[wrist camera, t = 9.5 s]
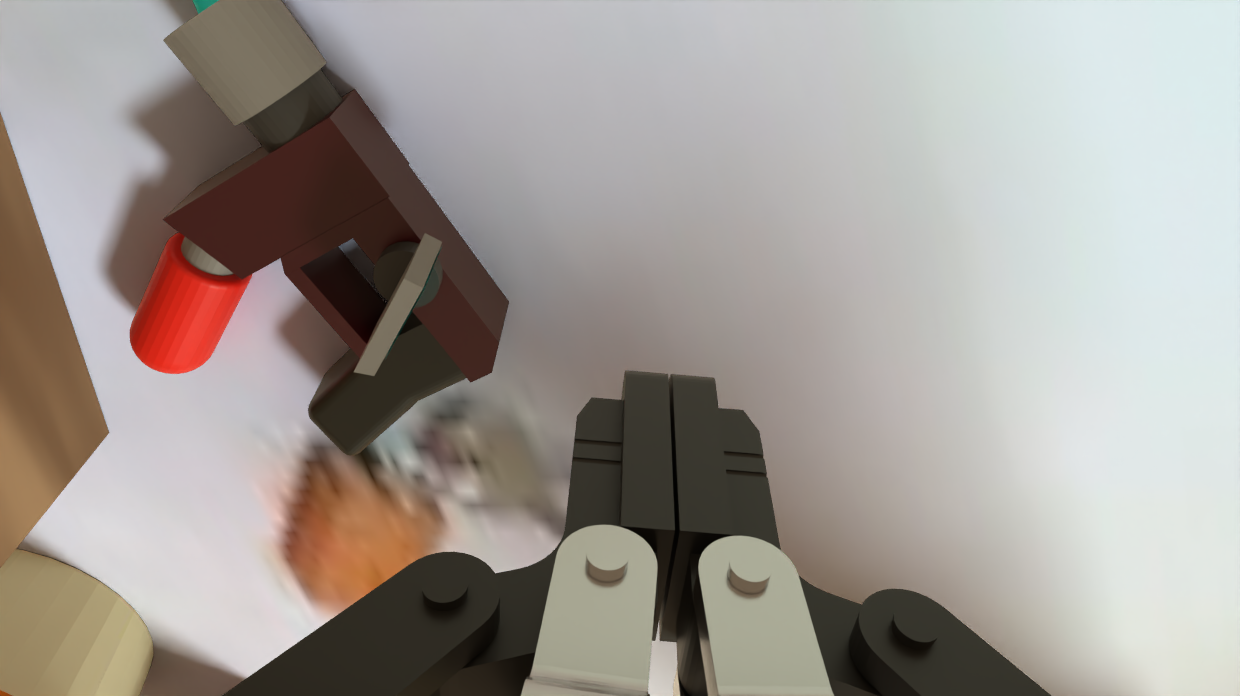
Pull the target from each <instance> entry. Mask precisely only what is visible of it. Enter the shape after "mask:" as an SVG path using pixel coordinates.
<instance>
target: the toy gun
mask: <svg viewBox="0 0 1240 696" xmlns="http://www.w3.org/2000/svg"><path fill="white" fill-rule="evenodd" d="M193 2H194V5H195V7H196V10H197V12H198V15H196V16H195V17H193V18H192V19H190V20H189V21H187V22H186V23H185V24H183V25H182V26H180V27H179V28H178V29H176V30H175V31H174V32H172V33H171V34H170V35H168V36H167V37H166V38H165V39H164V40H163V41H164V42H165V43H166V44H167V45H168V47H169V48H170V49H171V50H172V51H173V53H174V54H175V55H176V56H177V57H178V59H179V60H180V61H181V62H182V63H183V65H184V66H185V67H186V68H187V69H188V71H189V72H190V73H191V74H192V75H193V77H194V78H195V79H196V80H197V81H198V83H199V84H200V85H201V86H202V87H203V89H204V90H205V91H206V92H207V93H208V95H209V96H210V97H211V98H212V99H213V101H214V102H215V103H216V104H217V105H218V107H219V108H220V109H221V110H222V111H223V113H224V114H225V115H226V116H227V117H228V119H229V120H230V121H231V122H232V123H233V125H234V126H235V125H238V124H240V123H242V122H243V123H244V124H245V125H246V126H247V128H248V129H249V130H250V131H251V132H252V134H253V135H254V136H255V137H256V139H257V140H258V141H259V142H260V143H261V145H262V147H260V148H259V149H257V150H256V151H254V152H252V153H251V154H249V155H248V156H246V157H244V158H243V159H241V160H239V161H238V162H236V163H235V164H233V165H231V166H230V167H228V168H226V169H225V170H223V171H222V172H220V173H218V174H217V175H215V176H214V177H212V178H210V179H209V180H207V181H205V182H204V183H202V184H201V185H199V186H198V187H197V188H196V189H195V190H194V191H193V192H192V193H190V194H189V195H188V196H187V197H186V198H185V199H184V200H183V201H182V202H181V203H180V204H179V205H178V206H177V207H175V208H174V209H173V210H172V211H171V212H170V213H169V214H168V215H167V216H166V217H165V218H164V219H163V220H164V221H165V222H166V223H168V224H169V225H170V226H172V227H173V228H174V229H176V230H177V231H178V232H179V233H177V234H175V235H173V236H172V237H171V238H170V239H169V240H168V241H167V243H166V245H165V247H164V250H163V252H162V254H161V257H160V259H159V261H158V264H157V266H156V268H155V270H154V273H153V275H152V277H151V280H150V282H149V284H148V287H147V289H146V291H145V294H144V296H143V298H142V300H141V303H140V305H139V307H138V310H137V312H136V314H135V317H134V319H133V321H132V324H131V328H130V343H131V346H132V349H133V351H134V352H135V354H136V356H137V357H138V358H139V359H140V360H141V361H142V362H143V363H144V364H145V365H147V366H148V367H150V368H152V369H154V370H157V371H159V372H163V373H169V374H180V373H186V372H189V371H192V370H194V369H196V368H198V367H200V366H201V365H203V364H204V363H205V362H206V361H207V360H208V359H209V358H210V357H211V355H212V353H213V351H214V349H215V348H216V346H217V344H218V342H219V340H220V338H221V336H222V334H223V332H224V330H225V328H226V326H227V324H228V322H229V320H230V318H231V316H232V314H233V312H234V310H235V309H236V307H237V305H238V303H239V301H240V299H241V297H242V295H243V293H244V291H245V289H246V287H247V285H248V283H249V281H250V279H251V277H252V274H253V273H254V272H256V271H258V270H260V269H262V268H263V267H265V266H267V265H269V264H270V263H272V262H274V261H276V260H278V259H279V258H281V261H282V265H283V269H284V273H285V275H286V276H287V277H288V278H289V279H290V280H291V282H292V283H293V284H294V285H295V286H296V287H297V288H298V289H299V291H300V292H301V293H302V294H303V295H304V296H305V297H306V298H307V300H308V301H309V302H310V303H311V304H312V305H313V306H314V307H315V309H316V310H317V311H318V312H319V313H320V314H321V315H322V316H323V318H324V319H325V320H326V321H327V322H328V323H329V324H330V325H331V327H332V328H333V329H334V330H335V331H336V332H337V333H338V334H339V336H340V337H341V338H342V339H343V340H344V341H345V342H346V343H347V345H348V346H349V347H350V348H351V349H350V350H349V351H348V352H347V353H346V354H345V355H344V356H343V357H342V358H341V359H340V360H338V361H337V362H336V363H335V364H334V365H333V366H332V367H331V368H330V369H329V370H328V371H327V373H326V374H325V375H324V377H323V379H322V381H321V383H320V385H319V387H318V389H317V391H316V393H315V395H314V397H313V398H312V400H311V402H310V404H309V408H308V413H309V417H310V419H311V420H312V421H313V422H314V423H315V424H316V425H317V426H318V427H319V428H320V429H321V430H322V431H323V432H324V434H325V435H326V436H327V437H328V438H329V439H330V440H331V441H332V442H333V443H334V444H335V445H336V446H337V447H338V448H339V449H340V450H341V451H342V452H343V453H345V454H346V455H350V456H353V455H357V454H359V453H360V452H361V451H362V450H363V449H365V448H366V447H367V446H368V445H369V444H370V443H371V442H373V441H374V440H375V439H376V438H377V437H378V436H379V435H380V434H382V433H383V432H384V431H385V430H386V429H387V428H388V427H390V426H391V425H392V424H393V423H394V422H395V421H396V420H398V419H399V418H400V417H401V416H402V415H403V414H404V413H405V412H407V411H408V410H409V409H410V408H411V407H412V406H413V405H414V404H415V403H416V402H417V401H418V400H421V399H423V398H425V397H427V396H429V395H431V394H433V393H435V392H438V391H440V390H442V389H444V388H446V387H448V386H450V385H453V384H455V383H457V382H459V381H461V380H463V379H465V378H467V379H468V380H469V381H470V382H473V381H475V380H477V379H479V378H481V377H483V376H485V375H488V374H490V373H492V370H493V366H494V361H495V357H496V353H497V349H498V345H499V341H500V337H501V333H502V328H503V324H504V320H505V316H506V312H507V308H508V304H509V301H508V300H507V299H506V297H505V296H504V294H503V293H502V292H501V290H500V289H499V288H498V286H497V285H496V284H495V282H494V281H493V279H492V278H491V277H490V275H489V274H488V273H487V271H486V270H485V269H484V267H483V266H482V264H481V263H480V262H479V260H478V259H477V258H476V256H475V255H474V254H473V252H472V251H471V249H470V248H469V247H468V245H467V244H466V243H465V241H464V240H463V239H462V237H461V236H460V235H459V233H458V232H457V230H456V229H455V228H454V226H453V225H452V224H451V222H450V221H449V220H448V218H447V217H446V215H445V214H444V213H443V211H442V210H441V209H440V207H439V206H438V205H437V203H436V202H435V200H434V199H433V198H432V196H431V195H430V194H429V192H428V191H427V190H426V188H425V187H424V185H423V184H422V183H421V181H420V180H419V179H418V177H417V176H416V175H415V173H414V172H413V171H412V169H411V168H410V166H409V162H408V161H407V159H406V158H405V157H404V155H403V154H402V153H401V151H400V150H399V149H398V147H397V146H396V144H395V143H394V142H393V140H392V139H391V138H390V136H389V135H388V134H387V132H386V131H385V129H384V128H383V127H382V125H381V124H380V123H379V121H378V120H377V119H376V117H375V116H374V114H373V113H372V112H371V110H370V109H369V108H368V106H367V105H366V104H365V102H364V101H363V99H362V98H361V97H360V95H359V94H358V93H357V91H356V90H355V89H354V90H353V91H351V92H349V93H348V94H346V95H345V96H343V97H341V96H340V95H339V93H338V92H337V91H336V89H335V88H334V87H333V85H332V84H331V83H330V81H329V80H328V79H327V77H326V76H325V75H324V73H323V72H322V71H321V68H322V67H323V66H324V65H325V64H326V63H327V62H326V61H325V59H324V58H323V56H322V55H321V54H320V52H319V51H318V50H317V48H316V47H315V46H314V44H313V43H312V42H311V40H310V39H309V37H308V36H307V35H306V33H305V32H304V31H303V29H302V28H301V27H300V25H299V24H298V23H297V21H296V20H295V19H294V17H293V16H292V14H291V13H290V12H289V10H288V9H287V8H286V6H285V5H284V4H283V2H282V1H281V0H193ZM352 238H353V239H354V240H355V241H356V243H357V244H358V245H359V246H360V248H361V249H362V250H363V251H364V252H365V254H366V255H367V256H368V257H369V259H370V260H371V261H372V262H373V263H374V265H375V267H374V270H373V280H374V284H375V286H376V288H377V290H378V291H379V293H380V294H381V295H382V296H383V297H384V298H385V299H386V300H388V303H387V305H386V304H385V302H384V301H383V300H382V299H381V298H380V296H379V295H378V294H377V293H376V292H375V290H374V289H373V288H372V287H371V286H370V284H369V283H368V282H367V281H366V280H365V278H364V277H363V276H362V275H361V274H360V272H359V271H358V270H357V269H356V268H355V266H354V265H353V264H352V263H351V262H350V260H349V259H348V258H347V257H346V256H345V254H344V253H343V252H342V251H341V250H340V248H339V247H338V246H340V245H341V244H343V243H345V242H347V241H349V240H350V239H352Z"/></svg>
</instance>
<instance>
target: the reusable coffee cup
mask: <svg viewBox="0 0 1240 696" xmlns="http://www.w3.org/2000/svg"><path fill="white" fill-rule="evenodd" d="M153 655H154V653H153V642H152V639H151V636H150V634H149V631H148V629H147V627H146V625H145V624H144V622H143V621H142V619H141V618H140V617H139V615H138V614H137V612H136V611H135V610H134V609H133V608H132V607H131V606H130V605H129V604H128V603H127V602H126V601H125V600H124V599H123V598H122V597H120V596H119V595H118V594H117V593H115V592H114V591H112V590H111V589H110V588H108V587H107V586H105V585H104V584H103V583H101V582H100V581H98V580H96V579H94V578H93V577H91V576H89V575H87V574H85V573H84V572H82V571H80V570H78V569H76V568H74V567H71V566H69V565H66V564H64V563H61V562H59V561H57V560H54V559H52V558H49V557H45V556H42V555H38V554H35V553H31V552H28V551H24V550H19V549H15V551H14V552H13V553H12V554H11V556H10V557H9V558H8V559H7V561H6V562H5V563H4V564H3V566H2V567H1V568H0V696H139V695H140V693H141V690H142V688H143V685H144V682H145V680H146V677H147V675H148V672H149V669H150V667H151V663H152V659H153Z"/></svg>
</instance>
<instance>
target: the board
mask: <svg viewBox="0 0 1240 696" xmlns="http://www.w3.org/2000/svg"><path fill="white" fill-rule="evenodd" d="M108 433H109V431H108V428H107V425H106V422H105V419H104V416H103V413H102V410H101V408H100V405H99V402H98V399H97V396H96V393H95V390H94V387H93V384H92V381H91V378H90V375H89V372H88V369H87V366H86V363H85V360H84V358H83V355H82V352H81V349H80V346H79V343H78V340H77V337H76V334H75V331H74V328H73V325H72V322H71V319H70V316H69V313H68V310H67V307H66V305H65V302H64V299H63V296H62V293H61V290H60V287H59V284H58V281H57V278H56V275H55V272H54V269H53V266H52V263H51V260H50V257H49V255H48V252H47V249H46V246H45V243H44V240H43V237H42V234H41V231H40V228H39V225H38V222H37V219H36V216H35V213H34V210H33V207H32V204H31V202H30V199H29V196H28V193H27V190H26V187H25V184H24V181H23V178H22V175H21V172H20V169H19V166H18V163H17V160H16V157H15V154H14V152H13V149H12V146H11V143H10V140H9V137H8V134H7V131H6V128H5V125H4V122H3V119H2V116H1V113H0V568H1V567H2V566H3V564H4V563H5V562H6V561H7V559H8V558H9V557H10V556H11V554H12V553H13V552H14V551H15V549H16V548H17V547H18V546H19V544H20V543H21V542H22V541H23V539H24V538H25V537H26V536H27V534H28V533H29V532H30V531H31V529H32V528H33V527H34V526H35V524H36V523H37V522H38V521H39V519H40V518H41V517H42V516H43V515H44V513H45V512H46V511H47V510H48V508H49V507H50V506H51V505H52V503H53V502H54V501H55V500H56V498H57V497H58V496H59V495H60V493H61V492H62V491H63V490H64V488H65V487H66V486H67V485H68V483H69V482H70V481H71V480H72V478H73V477H74V476H75V475H76V473H77V472H78V471H79V470H80V468H81V467H82V466H83V465H84V463H85V462H86V461H87V460H88V458H89V457H90V456H91V455H92V453H93V452H94V451H95V450H96V448H97V447H98V446H99V445H100V443H101V442H102V441H103V440H104V438H105V437H106V436H107V435H108Z"/></svg>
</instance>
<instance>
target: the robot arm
mask: <svg viewBox="0 0 1240 696" xmlns="http://www.w3.org/2000/svg"><path fill="white" fill-rule="evenodd" d="M766 474H767V472H766V466H765V461H764V459H763V450H762V444H761V438H760V433H759V430H758V429H757V428H756V427H755V425H754V424H753V423H752V421H751V420H750V419H749V417H748V416H747V415H746V413H745V412H744V411H743V410H734V409H722V408H718V400H717V392H716V384H715V379H714V378H709V377H698V376H686V375H675V374H671V375H670V379H669V378H668V374H661V373H650V372H638V371H626V370H625V374H624V382H623V391H622V399H621V400H614V399H603V398H591V399H590V400H589V402H588V403H587V404H586V406H585V407H584V408H583V409H582V411H581V412H580V413H579V414H578V416H577V422H576V431H575V441H574V450H573V460H572V469H571V478H570V488H569V497H568V506H567V516H566V525H565V531H564V535H563V537H562V540H561V542H560V543H559V545H558V546H557V548H556V549H555V550H554V551H553V552H552V553H551V554H550V555H548V556H547V557H546V558H544V559H543V560H541V561H539V562H537V563H535V564H533V565H530V566H528V567H524V568H520V569H516V570H511V571H506V572H501V573H496V574H495V573H494V571H493V570H492V569H491V568H490V567H489V566H488V565H487V564H486V563H485V562H483V561H482V560H480V559H479V558H476V557H474V556H472V555H468V554H465V553H459V552H441V553H435V554H431V555H428V556H425V557H423V558H420V559H418V560H416V561H415V562H413V563H411V564H410V565H408V566H407V567H405V568H404V569H403V570H401V571H400V572H398V573H397V574H395V575H394V576H393V577H391V578H390V579H388V580H387V581H385V582H384V583H383V584H381V585H380V586H378V587H377V588H375V589H374V590H373V591H371V592H370V593H368V594H367V595H365V596H364V597H363V598H361V599H360V600H358V601H357V602H355V603H354V604H353V605H351V606H350V607H348V608H347V609H345V610H344V611H343V612H341V613H340V614H338V615H337V616H335V617H334V618H332V619H331V620H330V621H328V622H327V623H325V624H324V625H322V626H321V627H320V628H318V629H317V630H315V631H314V632H312V633H311V634H310V635H308V636H307V637H305V638H304V639H302V640H301V641H300V642H298V643H297V644H295V645H294V646H292V647H291V648H290V649H288V650H287V651H285V652H284V653H282V654H281V655H280V656H278V657H277V658H275V659H274V660H272V661H271V662H270V663H268V664H267V665H265V666H264V667H262V668H261V669H259V670H258V671H257V672H255V673H254V674H252V675H251V676H249V677H248V678H247V679H245V680H244V681H242V682H241V683H239V684H238V685H237V686H235V687H234V688H232V689H231V690H229V691H228V692H227V693H225V694H224V695H222V696H650V694H648V683H649V670H650V658H651V645H652V641H655V639H656V633H657V628H658V622H659V630H660V641H669V642H677V661H678V665H677V670H676V675H675V679H674V685H673V696H1051V695H1050V694H1048V693H1047V692H1046V691H1045V690H1044V689H1042V688H1041V687H1040V686H1039V685H1038V684H1036V683H1035V682H1034V681H1033V680H1031V679H1030V678H1029V677H1028V676H1027V675H1025V674H1024V673H1023V672H1022V671H1020V670H1019V669H1018V668H1017V667H1016V666H1014V665H1013V664H1012V663H1011V662H1009V661H1008V660H1007V659H1006V658H1005V657H1003V656H1002V655H1001V654H1000V653H999V652H997V651H996V650H995V649H994V648H992V647H991V646H990V645H989V644H988V643H986V642H985V641H984V640H983V639H981V638H980V637H979V636H978V635H977V634H975V633H974V632H973V631H972V630H970V629H969V628H968V627H967V626H966V625H964V624H963V623H962V622H961V621H960V620H958V619H957V618H956V617H955V616H953V615H952V614H951V613H950V612H949V611H947V610H946V609H945V608H944V607H942V606H941V605H940V604H938V603H937V602H935V601H933V600H932V599H930V598H928V597H926V596H924V595H921V594H919V593H916V592H912V591H908V590H903V589H887V590H882V591H879V592H876V593H874V594H872V595H871V596H869V597H868V598H867V599H866V600H865V601H864V603H863V604H862V605H861V604H858V603H855V602H852V601H849V600H847V599H844V598H841V597H838V596H835V595H832V594H829V593H827V592H825V591H822V590H820V589H818V588H816V587H814V586H813V585H811V584H809V583H808V582H806V581H805V580H804V579H802V578H801V577H800V576H799V575H798V573H797V570H796V568H795V566H794V565H793V563H792V561H791V560H790V559H789V558H788V557H787V555H785V554H784V553H783V552H782V551H781V548H780V544H779V539H778V533H777V528H776V522H775V516H774V511H773V505H772V500H771V494H770V489H769V483H768V478H766Z"/></svg>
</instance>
